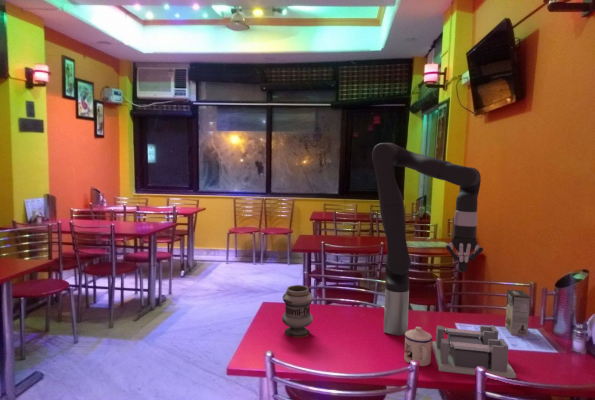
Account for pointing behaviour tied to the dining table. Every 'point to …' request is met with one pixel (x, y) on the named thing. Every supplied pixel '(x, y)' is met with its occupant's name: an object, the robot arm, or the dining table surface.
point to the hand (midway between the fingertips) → (462, 271)
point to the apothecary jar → (297, 310)
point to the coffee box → (517, 312)
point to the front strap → (470, 346)
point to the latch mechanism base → (473, 353)
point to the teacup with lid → (418, 346)
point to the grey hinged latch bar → (463, 332)
